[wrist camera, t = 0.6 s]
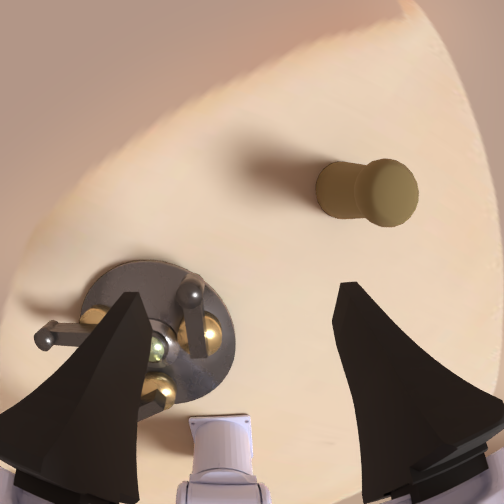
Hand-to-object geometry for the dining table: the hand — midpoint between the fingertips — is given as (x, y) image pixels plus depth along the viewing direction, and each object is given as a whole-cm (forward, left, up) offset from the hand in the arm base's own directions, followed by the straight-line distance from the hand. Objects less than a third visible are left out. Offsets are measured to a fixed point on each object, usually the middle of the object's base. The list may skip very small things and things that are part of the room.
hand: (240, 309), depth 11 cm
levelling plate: (-11, +9, -20) cm, 24 cm away
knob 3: (-8, +4, -18) cm, 20 cm away
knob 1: (-9, +17, -18) cm, 27 cm away
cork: (+4, -12, -20) cm, 23 cm away
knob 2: (-18, +12, -18) cm, 29 cm away
